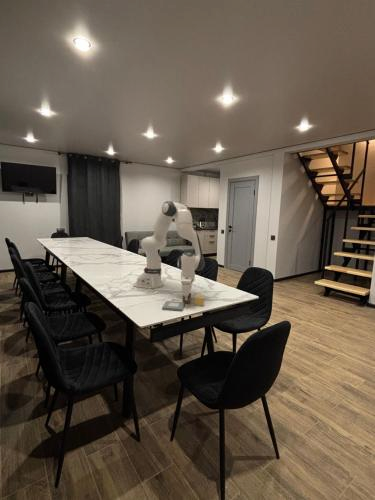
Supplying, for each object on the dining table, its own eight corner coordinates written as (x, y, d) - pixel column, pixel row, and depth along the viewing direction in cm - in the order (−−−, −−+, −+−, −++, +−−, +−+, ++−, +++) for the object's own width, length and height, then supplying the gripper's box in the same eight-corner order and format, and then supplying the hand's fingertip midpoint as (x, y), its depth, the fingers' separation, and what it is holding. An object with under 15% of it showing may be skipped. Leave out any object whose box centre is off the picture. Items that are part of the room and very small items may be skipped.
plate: (162, 309, 157) (162, 307, 157) (166, 302, 169) (166, 300, 169) (182, 310, 156) (182, 308, 156) (184, 304, 168) (184, 302, 168)
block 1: (182, 302, 170) (182, 294, 170) (183, 299, 175) (183, 292, 175) (190, 302, 170) (190, 295, 169) (191, 300, 175) (191, 293, 174)
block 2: (194, 305, 166) (195, 297, 166) (195, 302, 171) (196, 295, 171) (202, 305, 166) (203, 298, 165) (203, 303, 171) (203, 295, 170)
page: (166, 301, 172) (166, 301, 171) (168, 298, 178) (168, 297, 178) (182, 302, 170) (182, 302, 170) (183, 299, 177) (183, 298, 177)
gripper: (185, 274, 181) (184, 293, 183) (180, 281, 161) (179, 303, 163) (194, 274, 180) (193, 294, 182) (191, 282, 160) (190, 304, 162)
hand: (187, 298), depth 172 cm, fingers closed on block 1, 5 cm apart
